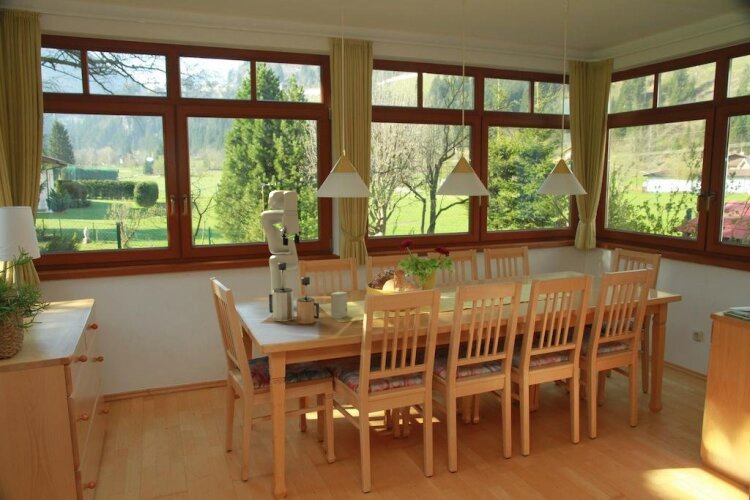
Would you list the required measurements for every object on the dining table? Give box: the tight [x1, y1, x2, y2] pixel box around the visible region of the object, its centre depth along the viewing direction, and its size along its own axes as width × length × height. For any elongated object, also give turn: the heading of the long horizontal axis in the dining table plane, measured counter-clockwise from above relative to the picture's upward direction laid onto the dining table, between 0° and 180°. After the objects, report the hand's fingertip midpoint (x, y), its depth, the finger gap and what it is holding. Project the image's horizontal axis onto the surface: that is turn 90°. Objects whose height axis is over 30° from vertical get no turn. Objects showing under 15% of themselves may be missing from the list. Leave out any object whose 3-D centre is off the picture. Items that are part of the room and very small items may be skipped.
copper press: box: [296, 296, 320, 324], centre depth 306 cm, size 10×12×13 cm
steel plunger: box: [278, 262, 286, 290], centre depth 309 cm, size 8×8×19 cm
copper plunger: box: [301, 276, 311, 300], centre depth 305 cm, size 6×6×15 cm
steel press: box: [268, 287, 295, 322], centre depth 311 cm, size 11×13×17 cm
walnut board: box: [260, 314, 325, 328], centre depth 310 cm, size 18×30×1 cm, turn 77°
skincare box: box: [330, 291, 348, 320], centre depth 317 cm, size 8×6×15 cm
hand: (291, 244), depth 316 cm, fingers open, 9 cm apart
